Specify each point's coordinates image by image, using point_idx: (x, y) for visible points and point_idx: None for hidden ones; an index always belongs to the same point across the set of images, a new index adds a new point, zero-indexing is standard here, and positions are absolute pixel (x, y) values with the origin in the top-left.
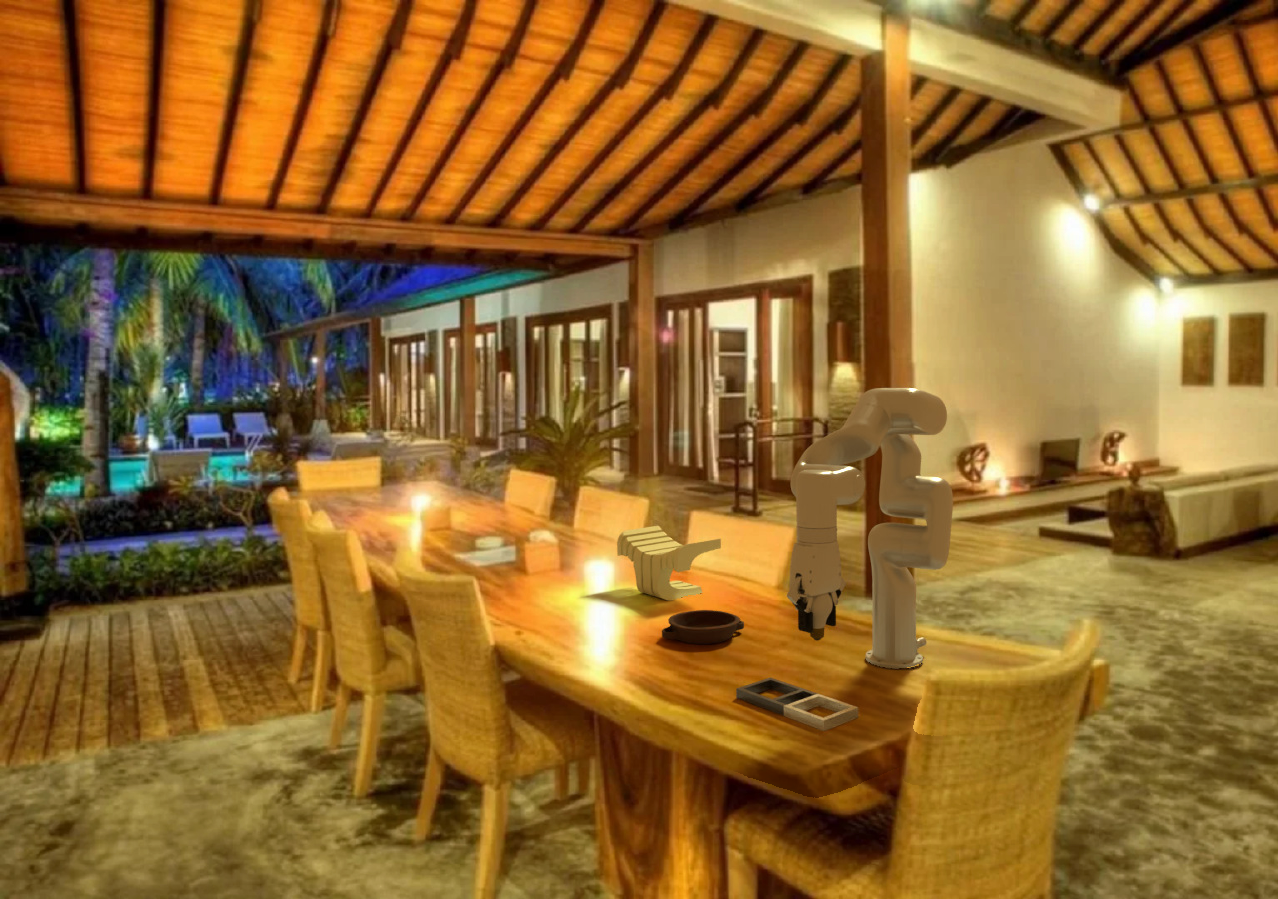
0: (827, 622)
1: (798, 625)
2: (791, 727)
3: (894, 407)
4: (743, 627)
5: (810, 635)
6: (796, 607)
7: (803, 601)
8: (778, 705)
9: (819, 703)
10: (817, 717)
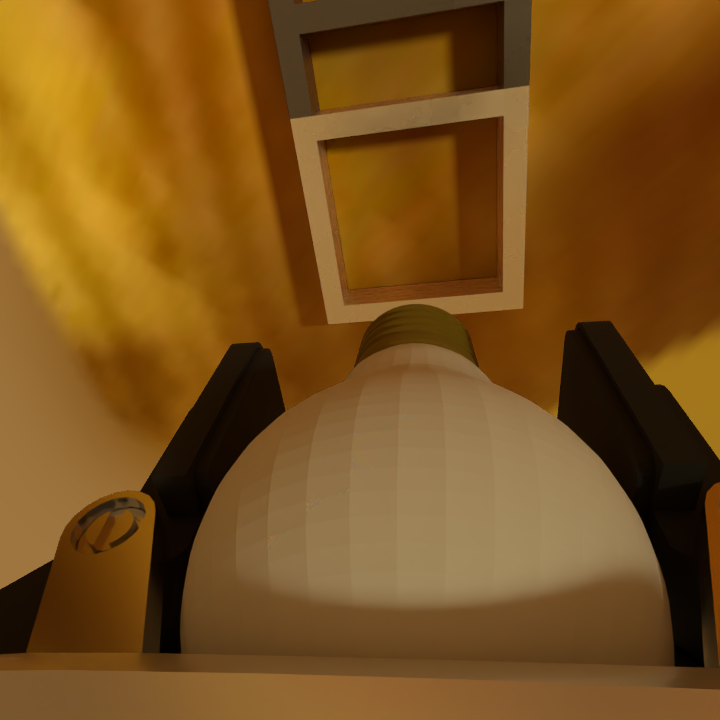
0: (565, 407)
1: (223, 361)
2: (260, 221)
3: None
4: None
5: (373, 325)
6: (46, 575)
7: (182, 602)
8: (285, 83)
9: (499, 117)
10: (329, 292)
